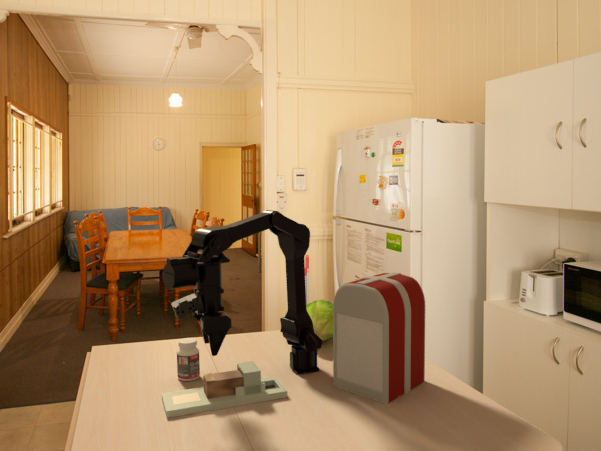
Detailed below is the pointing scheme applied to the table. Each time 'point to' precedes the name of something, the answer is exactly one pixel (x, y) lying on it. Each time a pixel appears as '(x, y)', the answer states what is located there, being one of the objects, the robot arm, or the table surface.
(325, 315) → the lettuce
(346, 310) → the red striped block
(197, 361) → the pill bottle
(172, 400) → the tunnel deck
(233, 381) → the brown rectangular block
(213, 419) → the table surface
